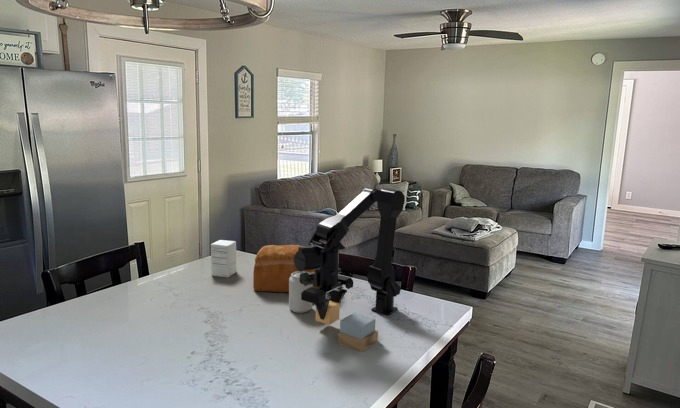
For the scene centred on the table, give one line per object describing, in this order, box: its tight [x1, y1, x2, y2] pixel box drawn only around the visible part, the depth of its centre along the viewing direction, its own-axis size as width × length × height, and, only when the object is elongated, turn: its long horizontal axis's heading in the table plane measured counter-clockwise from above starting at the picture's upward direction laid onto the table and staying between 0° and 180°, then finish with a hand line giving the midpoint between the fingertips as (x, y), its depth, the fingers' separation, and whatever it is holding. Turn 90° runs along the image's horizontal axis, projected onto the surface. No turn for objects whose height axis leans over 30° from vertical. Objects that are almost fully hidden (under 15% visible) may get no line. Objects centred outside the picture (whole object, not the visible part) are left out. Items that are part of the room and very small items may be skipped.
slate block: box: [339, 312, 376, 339], centre depth 138 cm, size 7×7×4 cm
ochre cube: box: [315, 301, 341, 326], centre depth 147 cm, size 5×5×5 cm
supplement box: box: [210, 239, 238, 278], centre depth 193 cm, size 7×7×13 cm
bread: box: [252, 244, 319, 294], centre depth 179 cm, size 14×26×16 cm, turn 87°
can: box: [288, 271, 313, 314], centre depth 160 cm, size 8×8×12 cm
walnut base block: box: [337, 329, 379, 352], centre depth 138 cm, size 8×8×4 cm
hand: (327, 316), depth 147 cm, fingers closed on ochre cube, 5 cm apart
